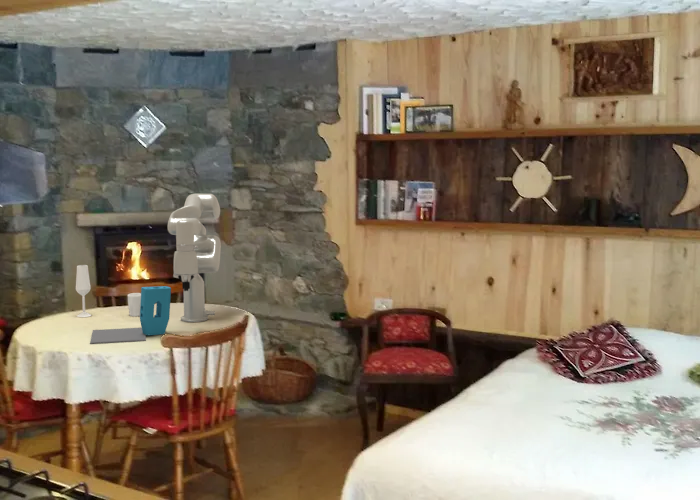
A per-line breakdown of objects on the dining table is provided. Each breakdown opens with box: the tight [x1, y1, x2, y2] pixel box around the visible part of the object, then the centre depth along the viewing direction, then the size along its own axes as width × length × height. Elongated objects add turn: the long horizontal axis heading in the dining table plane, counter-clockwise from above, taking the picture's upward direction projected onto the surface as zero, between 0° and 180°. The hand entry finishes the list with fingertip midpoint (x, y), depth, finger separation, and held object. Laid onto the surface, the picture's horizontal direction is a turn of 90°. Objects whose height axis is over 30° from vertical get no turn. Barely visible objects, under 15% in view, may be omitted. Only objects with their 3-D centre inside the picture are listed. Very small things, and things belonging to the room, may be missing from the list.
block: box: [139, 285, 172, 336], centre depth 326 cm, size 12×5×20 cm, turn 130°
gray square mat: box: [89, 327, 147, 345], centre depth 324 cm, size 22×22×1 cm
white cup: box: [127, 292, 141, 317], centre depth 363 cm, size 8×8×10 cm
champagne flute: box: [75, 264, 92, 318], centre depth 360 cm, size 7×7×24 cm
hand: (186, 290), depth 328 cm, fingers closed
